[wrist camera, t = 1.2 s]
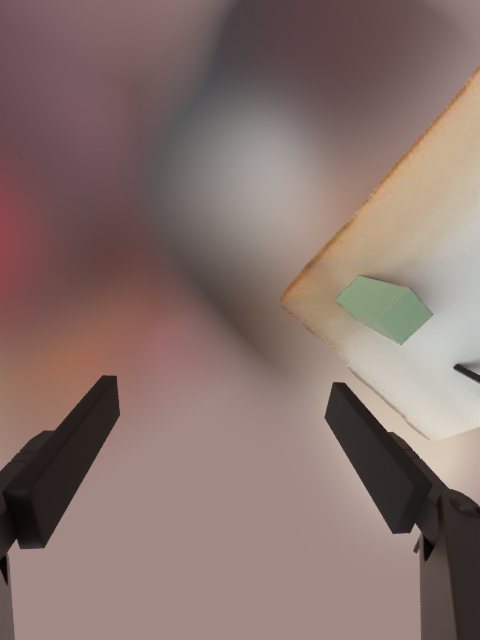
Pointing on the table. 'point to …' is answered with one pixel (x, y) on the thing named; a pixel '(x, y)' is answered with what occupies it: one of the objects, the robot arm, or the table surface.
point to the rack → (467, 373)
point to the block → (385, 307)
